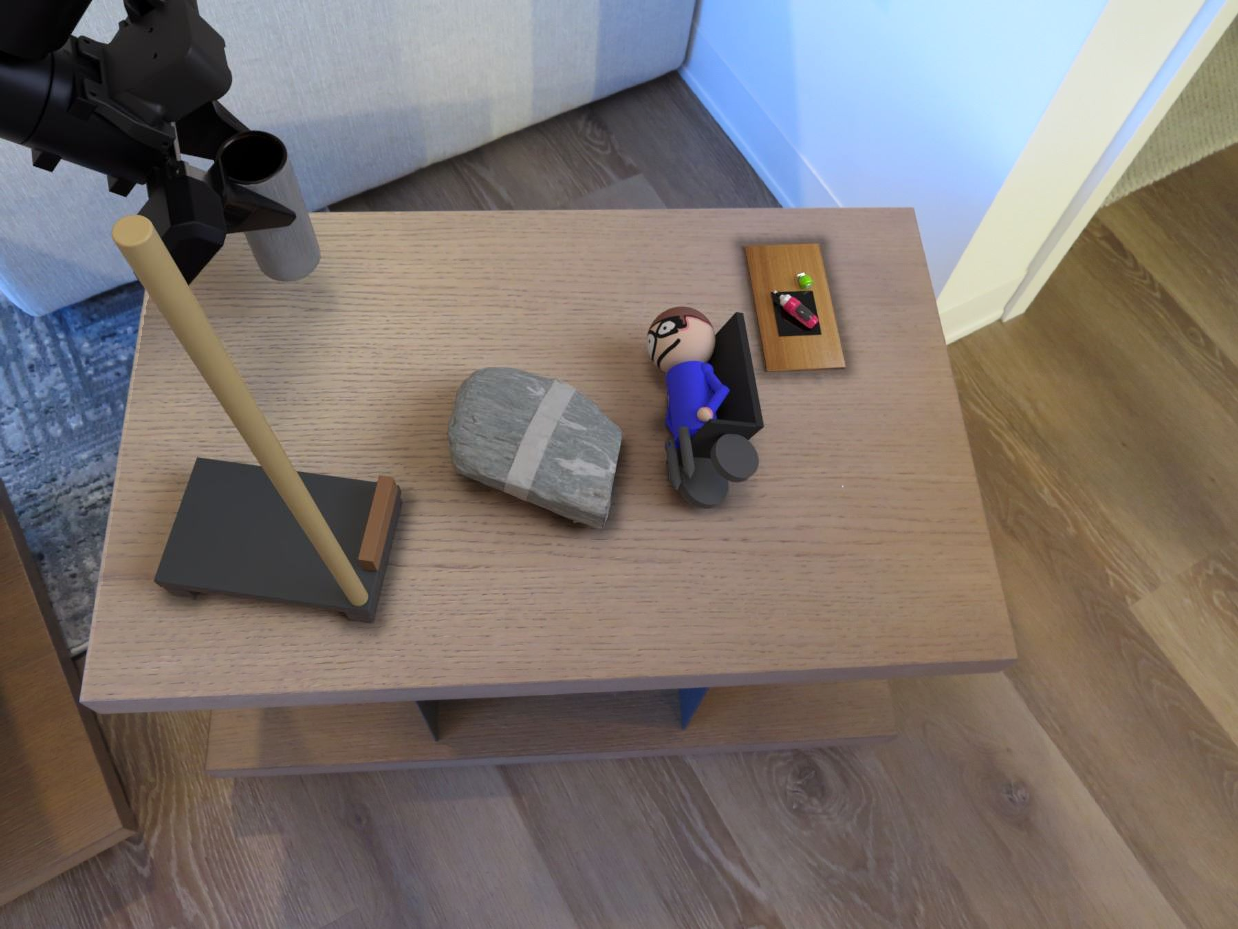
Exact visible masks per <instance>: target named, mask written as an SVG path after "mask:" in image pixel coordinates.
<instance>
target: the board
mask: <svg viewBox="0 0 1238 929" xmlns="http://www.w3.org/2000/svg"><path fill="white" fill-rule="evenodd" d="M744 250H745V255H746V261H747V266H748V270H749V272H748V273H749V278H750V282H751V288H752V294H753V300H754V305H755V306H754V307H755V312H756V317H757V322H758V328H759V333H760V340H761V345H762V351H763V352H762V353H763V356H764V362H765V369H766V372H767V373H770V372H771V373H773V372H789V371H790V372H791V371H793V372H795V371H815V370H836V369H846V367H847V366H846V361H845V357H844V352H843V348H842V343H841V339H840V338H841V337H840V333H839V329H838V324H837V319H836V316H835V311H834V307H833V302H832V297H831V292H830V288H829V283H828V279H827V274H826V270H825V264H824V260H823V256H822V251H821V246H820V243H794V244H793V243H791V244H789V243H788V244H760V245H759V244H758V245H745V246H744Z"/></svg>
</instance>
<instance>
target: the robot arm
mask: <svg viewBox="0 0 1238 929" xmlns="http://www.w3.org/2000/svg"><path fill="white" fill-rule="evenodd" d="M92 2H93V0H0V139H2V140H5V141H7V142H10V143H13V144H17V145H19V146H22V147H24V148H28V149H30V151H31V152H30V153H31V162H32V163H31V164H32V167H34V168H38V169H39V170H40V169H41V170H42V171H46V172H49V173H53V172H54V171H55V169H56V168H57V166H58V164H59V163H60V162H61V160H62V161H65V162H68V163H71V164H73V165H77V166H80V167H83V168H85V169H88V170H91V171H94V172H97V173H99V174H102V175H105V176H106V178H107V179H106V180H107V187H108V188H107V189H108V192H109V193H112V194H114V195H118V196H121V197H124V198H127V197H128V196H129V194H130V193H131V192H132V191H133V190H134V188H135V187H136V185H140V186H144V185H145V188H146V194H147V198H148V199H147V201H146V202H145V203H144V204H143V205H142V206H141V208H140V209H139V211H138V212H137V213H136V215H141V216H144V217H146V218H147V219H149V220H150V221H151V223H152V224H153V226H154V228H155V229H156V231H157V233H158V235H159V236H160V238H161V240H162V241H163V243H164V245H165V247H166V248H167V250H168V252H169V253H170V255H171V257H172V259H173V260H174V262H175V264H176V265H177V267H178V269H179V271H180V272H181V274H182V276H183V277H184V279H185V281H186V283H187V284H188V286H189V287H190V285H191V284H192V283H193V281H194V280H195V279H197V277H198V276H199V274H200V273H202V271H203V270H204V269H205V268H206V267H207V265H208V264H209V263H210V262H211V261H212V260H213V258H215V256H216V255H217V254H218V253H219V251H221V249H222V248H224V245H225V241H226V237H227V235H233V234H239V233H243V232H248V231H256V230H264V229H272V228H280V227H287V226H290V225H291V224H292V223H293V222H294V221H295V220H296V218H297V216H296V213H295V212H294V211H292V210H290V209H289V208H287V207H285V206H283V205H282V204H280V203H278V202H276V201H273V200H271V199H269V198H267V197H265V196H262V195H260V194H258V193H256V192H253V191H251V190H249V189H247V188H245V187H242V186H240V185H238V184H236V183H233V182H232V181H231V180H230V179H229V177H228V175H227V172H226V170H225V168H224V166H223V164H222V161H221V160H220V159H219V158H217V160H216V161H215V162H214V155H215V152H216V150H217V148H218V147H219V145H220V144H221V143H222V142H223V141H224V140H225V139H227V138H228V137H230V136H232V135H234V134H236V133H239V132H243V131H249V130H251V129H250V127H248V126H246V125H245V123H243V122H242V120H240V119H238V118H237V117H236V116H235V115H234V114H233V113H232V112H230V110H229V109H227V108H226V106H224V105H223V104H222V103H221V102H220V100H221V99H223V97H225V96H226V95H227V93H228V92H229V91H230V90H231V87H232V84H233V74H232V71H231V69H230V68H229V65H228V60H227V55H226V51H225V48H226V46H227V45H226V40H225V38H224V37H223V35H221V34H220V33H219V32H218V31H217V30H216V29H215V28H213V26H212V25H211V24H210V23H209V22H207V21H206V20H205V19H204V17H202V16H201V15H200V10H199V9H200V8H199V6H198V0H122V3H123V8H124V11H125V13H126V15H127V16H126V18H125V19H121V20H119V22H118V23H117V24H118V29H117V32H116V33H115V34H114V36H113V37H112V39H111V41H110V42H109V43H106V42H102V41H97V40H95V39H92V37H91V38H90V37H88V36H86V35H83V34H81V35H79V36H75V35H74V34H73V33H74V32H75V29H76V28H77V27H78V24H79V23H80V21H81V20H82V18H83V16H84V15H85V13H86V12H87V10H88V8H89V7H90V5H91V3H92ZM182 155H185V156H190V157H196V158H200V159H205V160H209V161H213V163H212V165H211V166H210V167H209V168H208V169H207V171H206V170H203V169H201V168H198V167H196V166H193V165H190V163H189V162H188V161H186V160H183V159H182ZM132 274H134V276H135V278H136V279H137V280H138V282H139V284H140V285H141V287H143V285H142V284H141V282H140V280H139V279H138V277H137V276H136V274H135V273H134V271H133V270H132Z"/></svg>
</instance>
